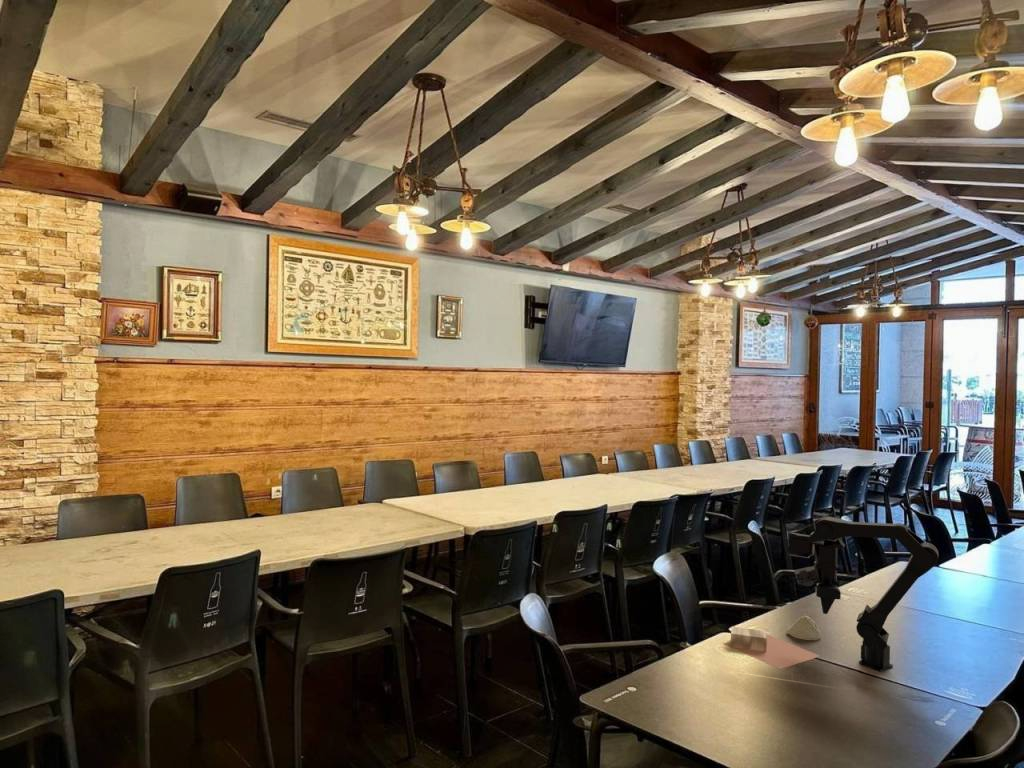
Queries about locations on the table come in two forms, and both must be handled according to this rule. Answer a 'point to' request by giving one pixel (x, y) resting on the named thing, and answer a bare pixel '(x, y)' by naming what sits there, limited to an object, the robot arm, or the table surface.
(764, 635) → the birch block
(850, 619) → the table surface
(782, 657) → the rubber mat
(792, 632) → the seashell
